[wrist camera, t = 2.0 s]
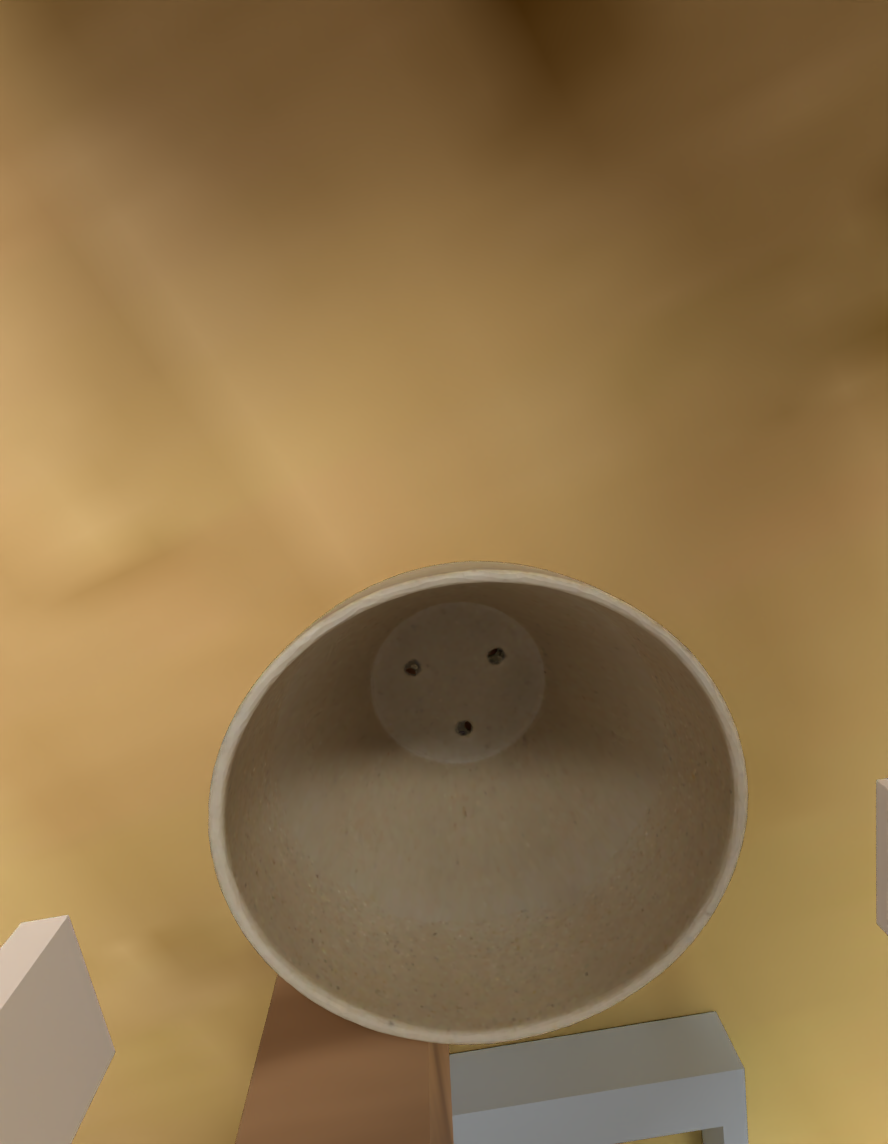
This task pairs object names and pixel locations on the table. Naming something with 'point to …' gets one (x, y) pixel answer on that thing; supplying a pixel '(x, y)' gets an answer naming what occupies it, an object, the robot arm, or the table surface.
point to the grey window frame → (603, 1087)
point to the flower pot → (477, 804)
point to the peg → (342, 1082)
